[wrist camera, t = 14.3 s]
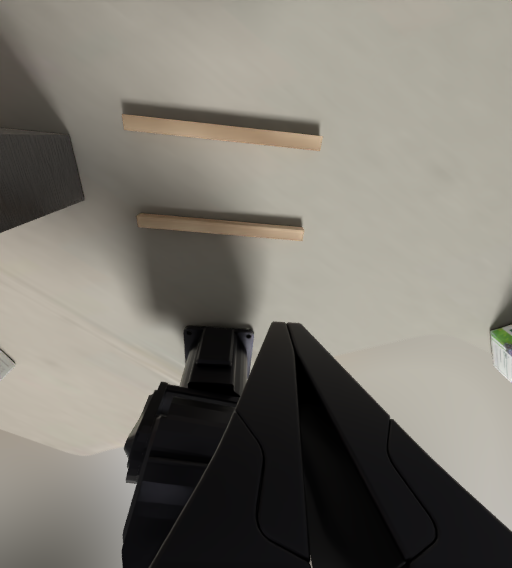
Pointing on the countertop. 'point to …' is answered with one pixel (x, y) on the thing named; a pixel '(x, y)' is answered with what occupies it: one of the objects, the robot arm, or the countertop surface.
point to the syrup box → (502, 350)
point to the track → (225, 135)
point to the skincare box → (5, 365)
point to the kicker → (35, 176)
